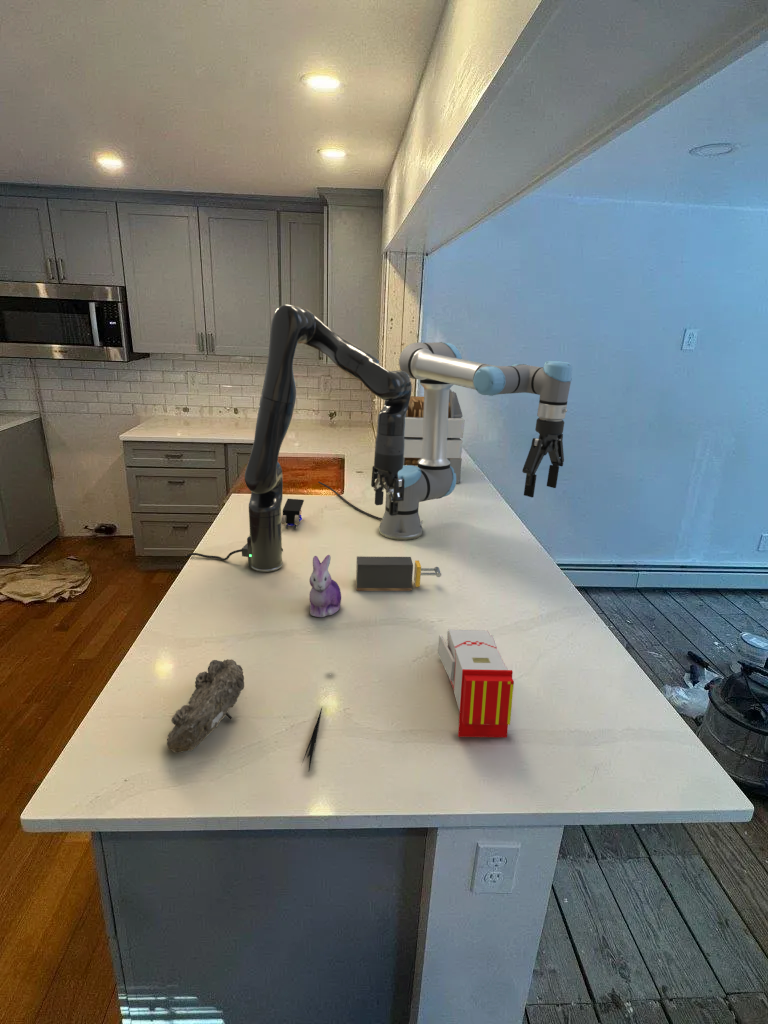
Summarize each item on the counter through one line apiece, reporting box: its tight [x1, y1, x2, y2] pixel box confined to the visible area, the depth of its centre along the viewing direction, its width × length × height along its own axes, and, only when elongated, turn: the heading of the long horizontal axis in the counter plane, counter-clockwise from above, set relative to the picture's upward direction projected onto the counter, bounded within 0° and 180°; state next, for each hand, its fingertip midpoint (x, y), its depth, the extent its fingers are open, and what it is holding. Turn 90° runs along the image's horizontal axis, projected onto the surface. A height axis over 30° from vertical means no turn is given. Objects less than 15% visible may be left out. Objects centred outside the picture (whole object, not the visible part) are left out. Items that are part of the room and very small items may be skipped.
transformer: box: [403, 388, 465, 484], centre depth 268 cm, size 34×33×41 cm
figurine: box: [308, 554, 342, 618], centre depth 145 cm, size 9×10×15 cm
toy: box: [437, 628, 515, 738], centre depth 117 cm, size 12×13×30 cm
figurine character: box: [281, 498, 305, 530], centre depth 203 cm, size 7×8×15 cm
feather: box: [301, 673, 332, 771], centre depth 108 cm, size 2×28×2 cm
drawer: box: [413, 559, 442, 588], centre depth 161 cm, size 20×4×6 cm, turn 95°
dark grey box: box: [355, 555, 414, 592], centre depth 161 cm, size 16×6×8 cm, turn 95°
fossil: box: [166, 658, 245, 754], centre depth 106 cm, size 22×10×15 cm
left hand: (385, 509), depth 151 cm, fingers open, 8 cm apart
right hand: (540, 491), depth 165 cm, fingers open, 13 cm apart
